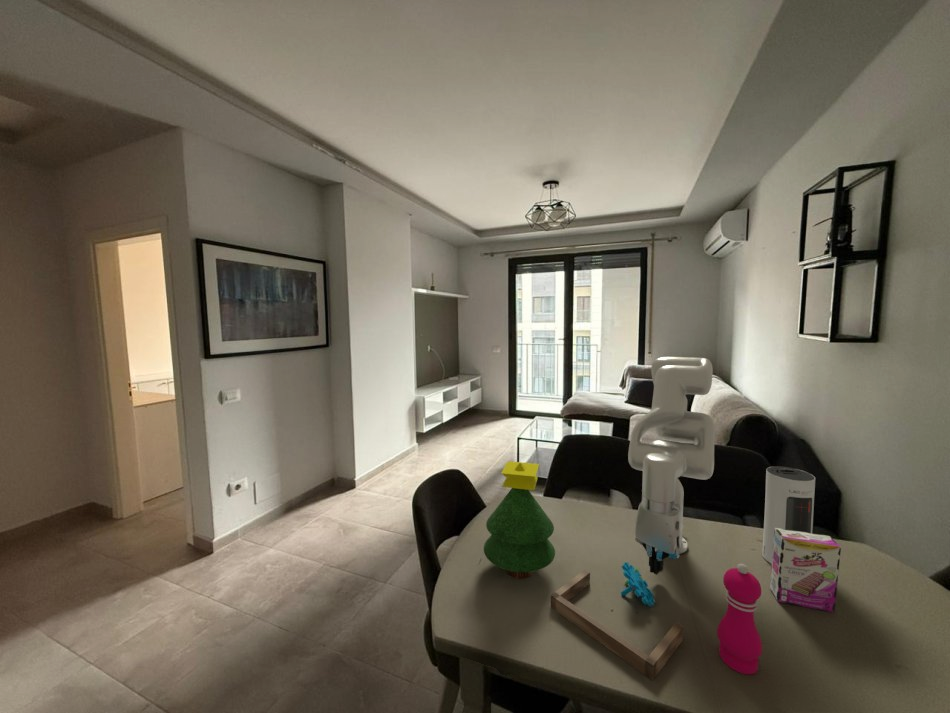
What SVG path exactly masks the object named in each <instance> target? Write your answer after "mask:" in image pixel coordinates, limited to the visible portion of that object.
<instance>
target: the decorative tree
mask: <svg viewBox="0 0 950 713" xmlns="http://www.w3.org/2000/svg"><path fill="white" fill-rule="evenodd" d="M539 466H540V463H531V462H520V461H510V460H509V461H508V460H507V462H506V463H505V465H504V467H503V470H502V471H501V474H502V475H503V476H504V477H505V479H504V481H503V483H502V486H501V488H509V489H510V490H509V491H508V492H507V494H506V495H505V496H504V497H503V499H502V500H501V502H500V503H499V504H498V506H497V507H496V508H495V510H494V511H493V512H492V513H491V514H490V515H489V517H488V518H487V520H486V524H485V526H486V530H487V531H488V533H489V534H490V536H489V537H488V538H487V540H486V541H485V542H484V543H483V553H484V556H486V557H485V558H486V559H487V560H488V561H489V562H490V563H492V564H493V565H494V566H496V567H498V568H500V569H503V570H504V571H505V573H506V575H507V576H509V577H510V578H512V579H514V580H525V579H528V578H529V577H531V576H532V573H533V572H537V571H539V570H543V569H544V568H545V569H546V567H548V566H549V565H550V564H552V562H553V561H554V559H555V558H556V550H555V547H554V545H553V544H552V542H551V541H550V539H549V538H550V537H551V536H552V534H553V533H554V530H555V525H554V523H553V521H552V520H551V519H550V518H549V516H548V515H547V514H546V512H545V511H544V509H543V508H542V507H541V505H540V504H539V502H538V501H537V499H536V498H535V497H534V495H533V494H532V493H531V492H530V491H535V489H536V485H537V481H538V476H537V473H538V470H539Z"/></svg>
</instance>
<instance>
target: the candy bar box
mask: <svg viewBox="0 0 950 713" xmlns="http://www.w3.org/2000/svg"><path fill="white" fill-rule="evenodd" d="M841 553H842V546H841V545H840V544H839V543H837V541H835V540H834V539H833V538H832V537H831V536H830V535H825V534H820V533H819V534H818V533H814V532H812V533H806V532H799V531H792V530H786V529H779V528H775V529H774V541H773V553H772V564H771V568H770V579H769V580H770V581H769V582H770V583H769V590H770V591H771V593H772V595H773V596H774V598H775V600H776V601H777V602H778V603H784V604H790V605H793V606H794V605H795V606H799V607H804V608H809V609H815V610H817V611H818V610H819V611H825V612H828V613H835V611H836V601H837V592H838V591H837V590H838V579H839V571H840V562H841V561H840V560H841Z"/></svg>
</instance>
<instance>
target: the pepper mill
mask: <svg viewBox="0 0 950 713" xmlns="http://www.w3.org/2000/svg"><path fill="white" fill-rule="evenodd" d="M722 581H723V585H724V588H725V600H726V601H727V609H726V612H725V614H724V616H723V617H722V618H721V620H719V623H718V626H717V630H716V635H717V639H718V641H719V646H718V647H719V649H718V654H719V657H720V659H721V660H722V661H723V663H724V664H726V665H727V666H728V667H729V668H730V669H732V670H733V671H735V672H737V673H740V674H743V675H753V674H756V673H757V672H758V669H759V660H758V659H759V658H760V657H761V656H762V654H763V643H762V639H761V636H760V634H759V631H758V628H757V626H756V624H755V615H754V613H755V611H757V610H758V600H759V599H760V597H761V596H762V586H761V583H760V581H759V580H758V578H757V577H756V576H755V575H754V574H752V573H751V572H749V568H748V566H747V565H746V564H744V563H739V564H737V566H736V568H735V567H733V568H729V569H728V570H726V571H725V573H724V574H723V580H722Z"/></svg>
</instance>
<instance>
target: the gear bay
mask: <svg viewBox="0 0 950 713" xmlns="http://www.w3.org/2000/svg"><path fill="white" fill-rule="evenodd" d="M590 580H591V572H589V571H588V570H587V569H584V570H583V571H581V572H580V573H579V574H577V575H575V577H573V578H572V579H570V580H569V581H567V582H566V583H565V584H564V585H562V586H561V587H560V588H558V589H557V590H556V591H554V592H553V593H552V594H550V608H551V609H553V610H554V611H555V612H557V613H559V614H560V615H561V616H563V617H564V618H565V619H567V620H568V621H570V622H571V623H572V624H573V625H575V626H576V627H578V628H579V629H580V630H582V631H583V632H584V633H586V634H587V635H589V636H590V637H592V638H593V639H595V640H596V641H597V642H598V643H600V644H601V645H603V646H604V647H605V648H606V649H608V650H610V651H611V652H613V653H614V654H615V655H617V656H618V657H620V658H621V659H622V660H624V662H626V663H628V664H629V665H630V666H632V667H634V668H635V669H636V670H638V671H639V672H640V673H642V674H643V675H644V676H646V677H647V678H648V679H650V680H652V681H654V680H655V678H656V677H657V676H658V674H659V673H660V672H661V670H662V669H663V668H664V666H665V665H666V664H667V662H668V661H669V660H670V658H671V657H672V655H673V654H674V653H675V651H676V650H677V649H678V647H679V645H680V644H681V643H682V642H683V640H684V629H685V628H684V625H683V624H680V623H679V622H675V623H674V624H673V625H672V627H671V628H670V629H669V630H668V631H667V633H666V634H665V635H664V636H663V638H662V639H661V640H660V641H659V642H658V644H657V645H656V646H655V648H653V650H652V651H651V652H650V654H647V653H646V652H644V651H643V650H642V649H640V648H639V647H637V646H636V645H634V644H632V643H631V642H629V641H628V640H626V638H624V637H622V636H621V635H619V634H618V633H616V632H615V631H614V630H612V629H610V628H609V627H607V626H606V625H604V624H603V623H601V622H600V621H599V620H597V619H595V618H594V617H592V616H591V615H589V614H588V613H586V611H583V610H582V609H581V608H580V607H578V606H577V605H575V604H573V603H572V602H570V600H572V599H573V598H574V597H575V596H576V595H577V594H579V593H580V592H581V591H583V589H585V588H586V587H587V586H589V585H590V584H591V581H590Z"/></svg>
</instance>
